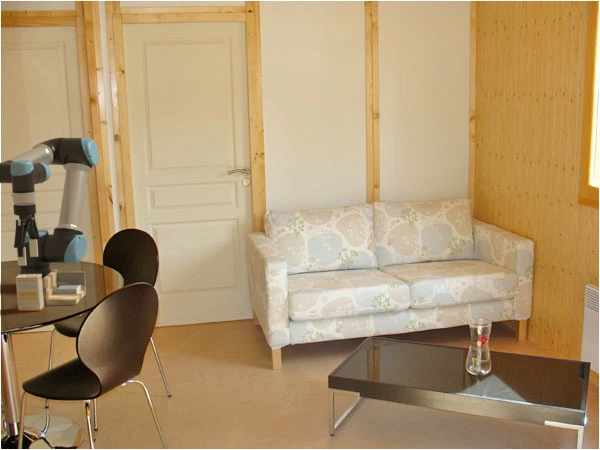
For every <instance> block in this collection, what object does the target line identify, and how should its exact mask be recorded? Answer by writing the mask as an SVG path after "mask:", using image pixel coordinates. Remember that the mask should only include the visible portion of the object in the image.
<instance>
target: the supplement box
mask: <svg viewBox="0 0 600 450" xmlns="http://www.w3.org/2000/svg"><path fill="white" fill-rule="evenodd" d="M15 288H16V298H17V299H16V300H17V308H18V310H17V311H18V312H40V311H42V310H43V309H45V305H44V300H43V287H42V274H20V275H19V274H18V275H17V276H15Z"/></svg>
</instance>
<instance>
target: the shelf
mask: <svg viewBox="0 0 600 450" xmlns="http://www.w3.org/2000/svg"><path fill="white" fill-rule="evenodd" d="M86 282H87V281H86V271H58V269H52V272H51V273H49V274H48V275H47V276H46V277H45V278H43V279H42V287H43V300H44V306H76V305H77V304H78V303H79V302H80V301H81V300H82V299H83V297H85V295H86V294H87V285H86ZM60 285H81V290H80V291H79V292H78V293H77V294H57V288H58V287H59V286H60Z"/></svg>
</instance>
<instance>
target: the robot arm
mask: <svg viewBox="0 0 600 450" xmlns="http://www.w3.org/2000/svg"><path fill="white" fill-rule="evenodd" d="M99 157H100V154H99V148H98V145H97V143H96V141H95V140H93V139H92V138H89V137H88V138H87V137H55V138H50V139H47V140H44V141H42V142H39V143H38V144H35V145H34V146H33V147H32V148H31V149H29V150H28V151H25V152H23V153H21V154H19V155H16V156H14V157H12V158H10V159H7V160H5V161H2V162H0V184H11V187H12V188H11V189H12V194H11V196H10V197H12V201H13V214H14V215H15V216H18V217H19V218H18V219H15V232H14V242H13V243H14V245H13V248H14V249H16V253H17V254H16V255H17V266H19V272H18V275H20V274H42V279H43V278H45V277H46V276H47V275H48V274H49V273H51V272H52V271H53V269H52V268H51V263H53V264H66V265H67V264H68V265H70V264H78V263H80V262H81V261H82V260H83V259H84V258H85V255H86V253H87V249H88V248H87V247H88V240H87V236H85V235H84V231H83V230H82V229H81V226H82V225H81V224H82V217H83V208H84V201H85V195H86V189H87V180H88V175H89V174H90V173H92V171H93V167H95V166H97V165H98V164H99V160H100V158H99ZM55 165H56V166H63V169H64V170H65V178H64V179H65V180H64V185H63V191H62V199H61V204H60V205H61V206H60V212H59V220H58V225H57V226H56V227H55V228H54V229H53V232H52V234H50V233H49V231H48V230H47V229H41V230H40V229H39V230H38V226H37V222H36V214H37V207H36V206H37V205H36V191H35V185H38V184H43V183H45V182H47V181H48V180H49V179H50V178H51V173H52V172H51V168H50V167H49V166H55Z"/></svg>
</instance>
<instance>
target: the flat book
mask: <svg viewBox="0 0 600 450" xmlns="http://www.w3.org/2000/svg"><path fill="white" fill-rule="evenodd" d="M80 290H81V285H60V286H59V287H58V288H57V294H77V293H78V292H79V291H80Z"/></svg>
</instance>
